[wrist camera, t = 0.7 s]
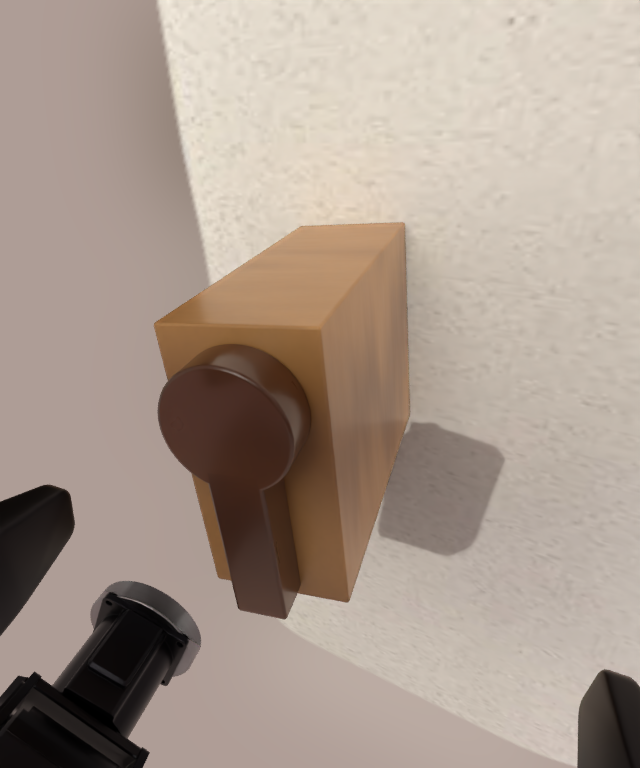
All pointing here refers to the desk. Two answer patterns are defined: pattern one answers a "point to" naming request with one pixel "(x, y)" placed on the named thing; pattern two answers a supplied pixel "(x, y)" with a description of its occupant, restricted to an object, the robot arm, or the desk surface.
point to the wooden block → (318, 379)
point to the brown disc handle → (243, 461)
